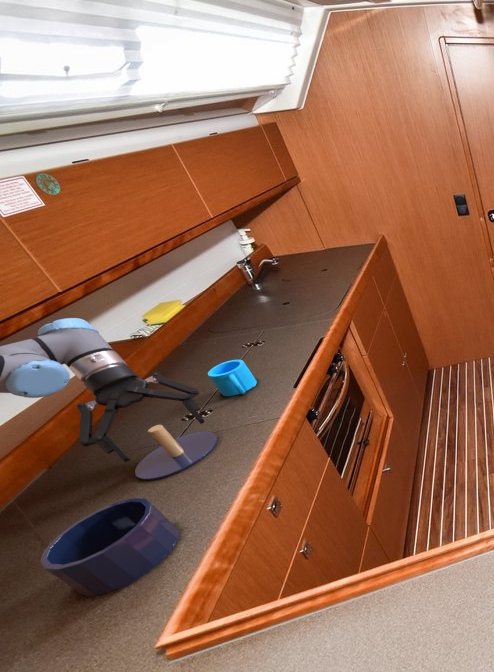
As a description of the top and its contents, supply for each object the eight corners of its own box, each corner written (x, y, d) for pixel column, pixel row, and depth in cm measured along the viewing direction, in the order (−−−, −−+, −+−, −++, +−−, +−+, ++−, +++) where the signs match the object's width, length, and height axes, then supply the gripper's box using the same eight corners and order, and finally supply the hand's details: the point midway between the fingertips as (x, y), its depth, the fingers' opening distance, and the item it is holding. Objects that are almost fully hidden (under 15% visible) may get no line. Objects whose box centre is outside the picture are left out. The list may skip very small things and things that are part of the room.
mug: (220, 390, 125) (205, 369, 121) (253, 376, 130) (240, 356, 126) (229, 406, 118) (213, 385, 114) (263, 391, 124) (250, 370, 120)
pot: (68, 575, 78) (29, 548, 73) (163, 516, 89) (134, 488, 84) (94, 610, 73) (55, 582, 68) (192, 542, 83) (163, 514, 79)
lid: (127, 468, 100) (98, 439, 95) (203, 427, 111) (181, 400, 106) (153, 491, 94) (123, 461, 89) (230, 445, 106) (208, 417, 100)
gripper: (15, 400, 86) (84, 475, 88) (172, 341, 105) (228, 403, 106) (29, 410, 91) (95, 480, 93) (177, 352, 110) (230, 411, 111)
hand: (166, 439), depth 99 cm, fingers open, 13 cm apart
